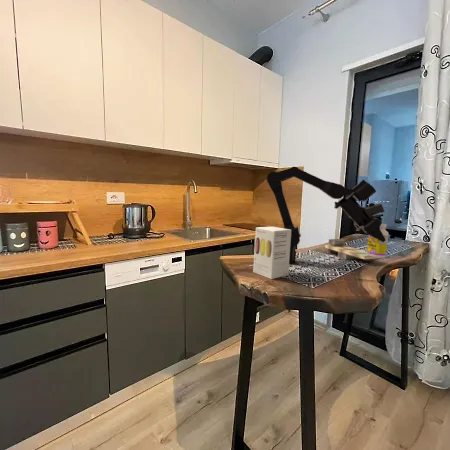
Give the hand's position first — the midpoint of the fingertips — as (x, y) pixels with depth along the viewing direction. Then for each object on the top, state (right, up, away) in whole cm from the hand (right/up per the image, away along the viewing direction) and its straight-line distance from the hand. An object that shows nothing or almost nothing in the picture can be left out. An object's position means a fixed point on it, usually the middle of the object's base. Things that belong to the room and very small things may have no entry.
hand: (381, 239), depth 99 cm
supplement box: (-44, -12, -6) cm, 46 cm away
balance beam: (-1, -10, +23) cm, 25 cm away
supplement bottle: (-2, -7, +1) cm, 7 cm away
